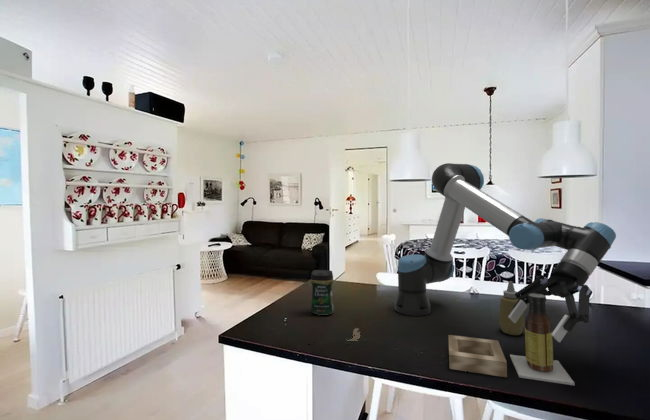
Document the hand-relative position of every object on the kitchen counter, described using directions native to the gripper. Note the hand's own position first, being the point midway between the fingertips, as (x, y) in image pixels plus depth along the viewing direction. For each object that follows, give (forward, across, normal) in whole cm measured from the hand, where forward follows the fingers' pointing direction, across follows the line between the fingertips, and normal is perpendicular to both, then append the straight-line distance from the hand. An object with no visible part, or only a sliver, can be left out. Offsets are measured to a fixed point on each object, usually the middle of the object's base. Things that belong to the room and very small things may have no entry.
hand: (531, 328), depth 85 cm
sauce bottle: (+6, 0, -10) cm, 11 cm away
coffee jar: (+39, +62, +22) cm, 77 cm away
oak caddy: (+16, +9, -1) cm, 18 cm away
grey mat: (+6, 0, -10) cm, 12 cm away
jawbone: (+40, +36, +23) cm, 59 cm away
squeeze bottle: (-3, +22, -19) cm, 30 cm away
